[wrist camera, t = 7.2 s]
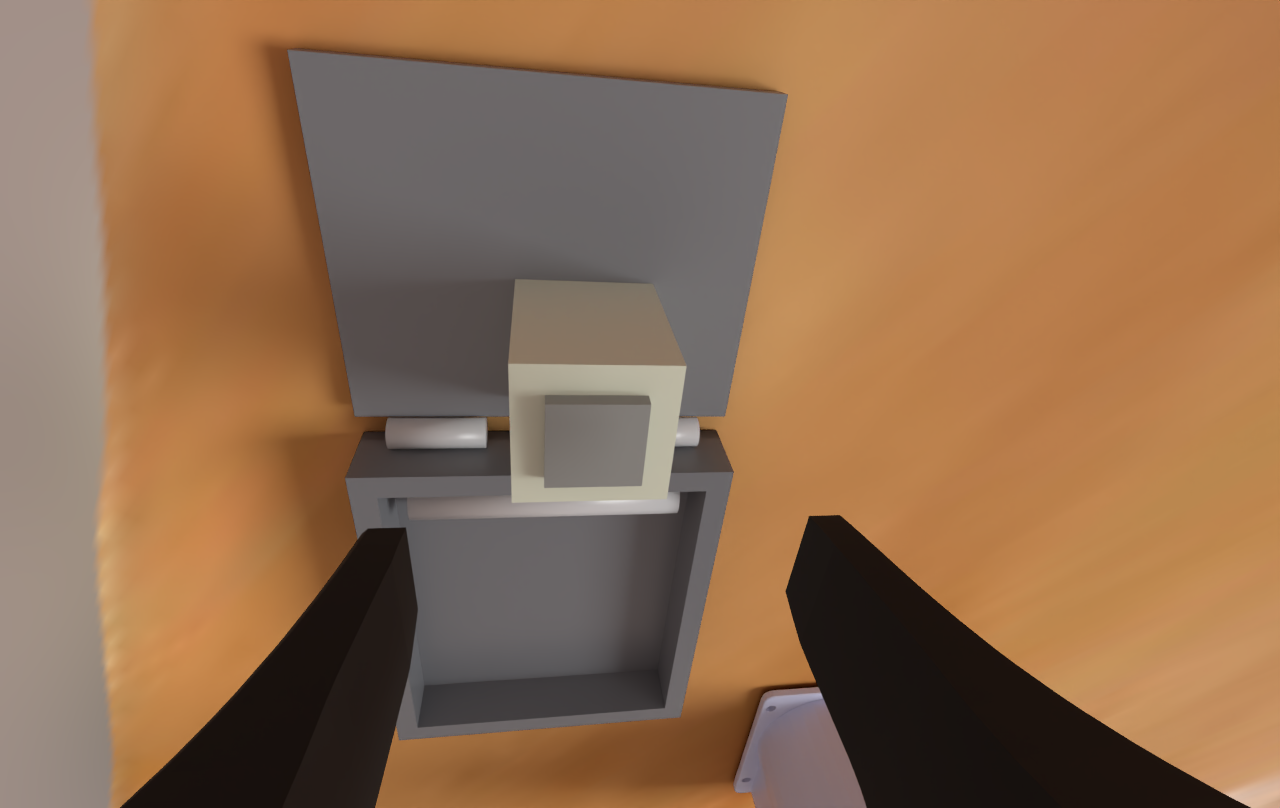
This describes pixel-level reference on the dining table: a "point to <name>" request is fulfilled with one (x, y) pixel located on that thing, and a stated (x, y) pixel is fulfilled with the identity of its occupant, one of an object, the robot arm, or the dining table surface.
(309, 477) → the dining table surface
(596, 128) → the lid panel
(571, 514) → the case
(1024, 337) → the dining table surface
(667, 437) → the block
